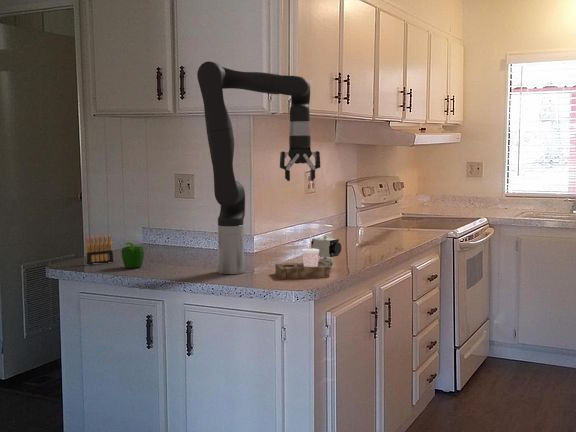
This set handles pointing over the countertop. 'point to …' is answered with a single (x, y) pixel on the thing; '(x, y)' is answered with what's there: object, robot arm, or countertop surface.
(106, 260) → the ammunition clip
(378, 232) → the countertop surface
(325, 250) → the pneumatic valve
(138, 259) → the bell pepper
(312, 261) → the beverage cup
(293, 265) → the socket block
